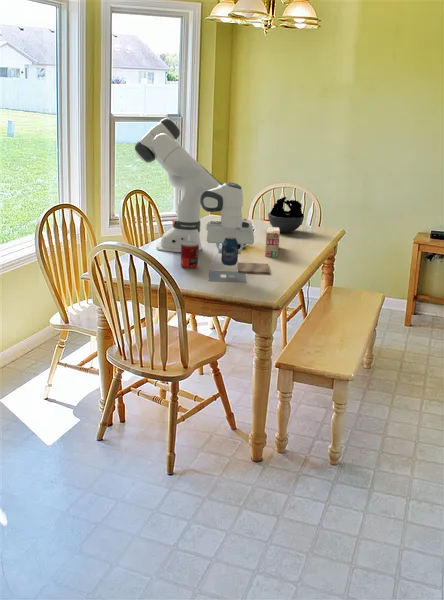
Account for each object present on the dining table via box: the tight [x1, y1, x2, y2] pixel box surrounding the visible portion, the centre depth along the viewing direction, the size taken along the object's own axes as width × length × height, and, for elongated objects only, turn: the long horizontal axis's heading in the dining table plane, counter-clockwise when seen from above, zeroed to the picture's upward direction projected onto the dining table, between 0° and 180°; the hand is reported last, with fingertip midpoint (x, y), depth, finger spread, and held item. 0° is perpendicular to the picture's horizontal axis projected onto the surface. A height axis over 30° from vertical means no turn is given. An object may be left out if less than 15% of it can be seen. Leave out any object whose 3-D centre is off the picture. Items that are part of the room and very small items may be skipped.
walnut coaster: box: [236, 261, 271, 275], centre depth 308 cm, size 14×14×1 cm
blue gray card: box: [208, 269, 247, 284], centre depth 295 cm, size 16×16×1 cm
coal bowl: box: [267, 196, 305, 234], centre depth 380 cm, size 20×20×19 cm
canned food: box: [180, 241, 200, 270], centre depth 305 cm, size 8×8×11 cm
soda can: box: [220, 238, 239, 267], centre depth 292 cm, size 7×7×12 cm
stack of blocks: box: [264, 226, 281, 258], centre depth 338 cm, size 21×6×12 cm, turn 177°
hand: (229, 253), depth 292 cm, fingers closed on soda can, 7 cm apart
